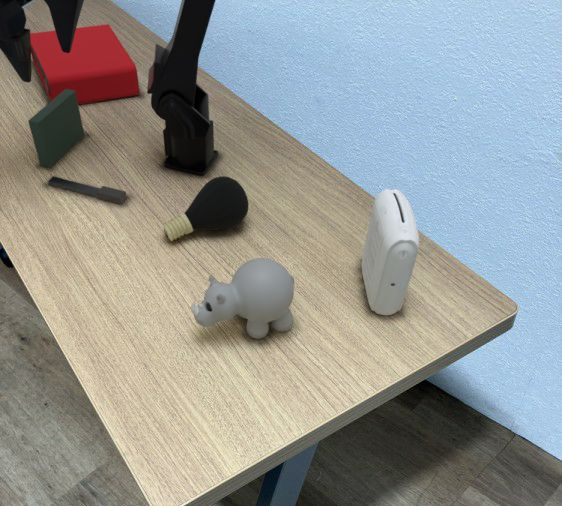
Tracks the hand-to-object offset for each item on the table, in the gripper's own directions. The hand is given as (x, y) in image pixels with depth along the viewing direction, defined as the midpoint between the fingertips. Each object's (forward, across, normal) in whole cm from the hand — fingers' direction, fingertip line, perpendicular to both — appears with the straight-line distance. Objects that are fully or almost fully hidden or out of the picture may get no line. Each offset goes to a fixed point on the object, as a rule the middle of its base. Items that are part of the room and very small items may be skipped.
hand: (47, 66), depth 81 cm
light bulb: (+14, +6, +25) cm, 29 cm away
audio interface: (+14, -23, -11) cm, 29 cm away
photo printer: (+14, +9, +50) cm, 52 cm away
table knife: (+14, +6, +6) cm, 16 cm away
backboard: (+14, -2, -2) cm, 14 cm away
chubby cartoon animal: (+14, +21, +36) cm, 44 cm away
